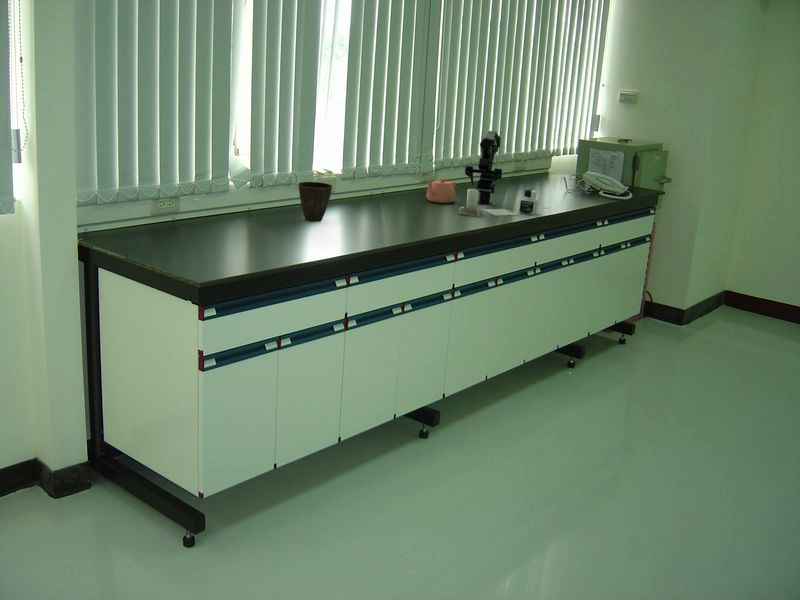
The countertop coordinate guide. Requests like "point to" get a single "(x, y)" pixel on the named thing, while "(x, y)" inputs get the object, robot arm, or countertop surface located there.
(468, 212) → the holder
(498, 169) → the robot arm
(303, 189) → the plant pot
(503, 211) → the mat
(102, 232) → the countertop surface
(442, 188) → the teapot
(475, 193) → the pale grey rounded piece
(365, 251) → the countertop surface
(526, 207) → the medicine bottle
